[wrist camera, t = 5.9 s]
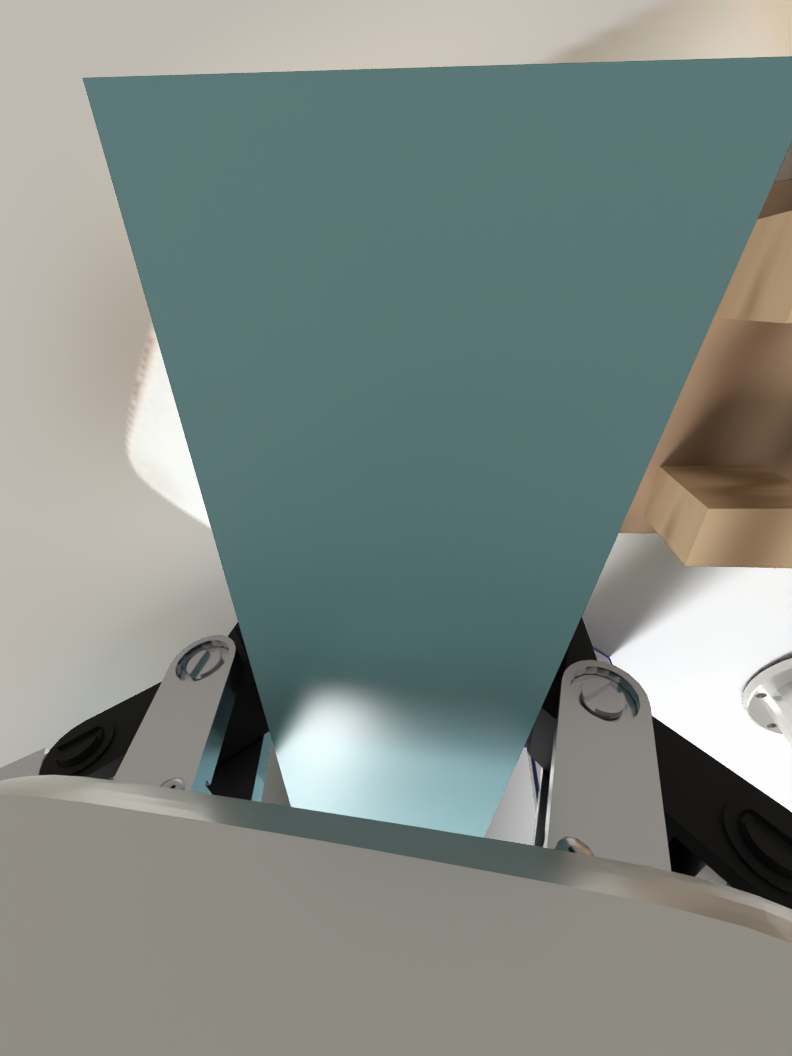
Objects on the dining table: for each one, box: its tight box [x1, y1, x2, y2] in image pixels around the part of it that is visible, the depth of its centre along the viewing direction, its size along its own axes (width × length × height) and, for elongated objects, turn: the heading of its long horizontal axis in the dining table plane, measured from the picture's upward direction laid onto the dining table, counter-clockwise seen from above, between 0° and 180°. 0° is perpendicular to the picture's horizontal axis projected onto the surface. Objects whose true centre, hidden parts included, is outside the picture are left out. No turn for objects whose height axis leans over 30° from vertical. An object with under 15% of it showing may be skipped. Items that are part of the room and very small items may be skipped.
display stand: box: [619, 179, 792, 568], centre depth 20 cm, size 12×20×8 cm, turn 5°
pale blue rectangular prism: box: [83, 56, 792, 838], centre depth 9 cm, size 4×16×6 cm, turn 178°
